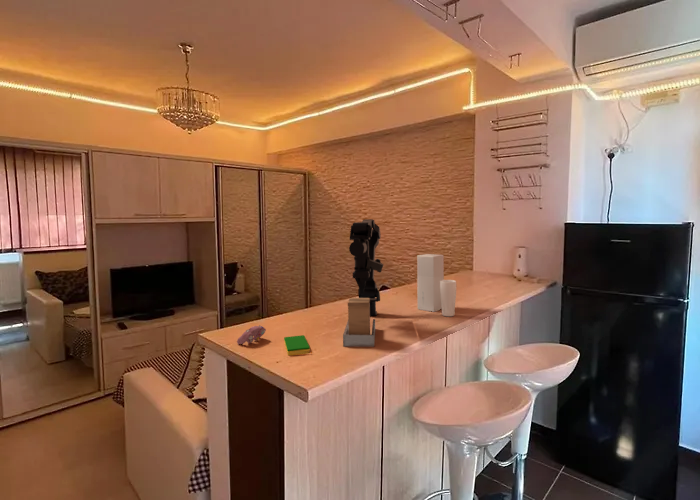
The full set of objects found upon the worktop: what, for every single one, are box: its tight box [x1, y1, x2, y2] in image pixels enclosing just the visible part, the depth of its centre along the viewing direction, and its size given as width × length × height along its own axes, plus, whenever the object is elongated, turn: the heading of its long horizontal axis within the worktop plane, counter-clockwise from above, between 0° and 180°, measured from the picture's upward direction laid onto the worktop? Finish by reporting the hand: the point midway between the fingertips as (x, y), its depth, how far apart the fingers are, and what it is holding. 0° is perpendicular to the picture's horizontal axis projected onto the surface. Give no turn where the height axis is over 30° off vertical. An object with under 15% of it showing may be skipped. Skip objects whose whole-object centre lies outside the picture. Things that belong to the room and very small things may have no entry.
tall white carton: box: [416, 253, 445, 313], centre depth 179 cm, size 9×9×25 cm
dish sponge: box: [283, 334, 311, 356], centre depth 131 cm, size 7×14×2 cm, turn 14°
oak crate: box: [347, 297, 371, 335], centre depth 134 cm, size 7×7×14 cm
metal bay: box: [342, 318, 376, 348], centre depth 138 cm, size 20×10×5 cm, turn 175°
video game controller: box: [236, 324, 267, 345], centre depth 138 cm, size 10×5×7 cm, turn 150°
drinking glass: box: [440, 279, 457, 318], centre depth 167 cm, size 7×7×15 cm
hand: (362, 292), depth 156 cm, fingers closed
